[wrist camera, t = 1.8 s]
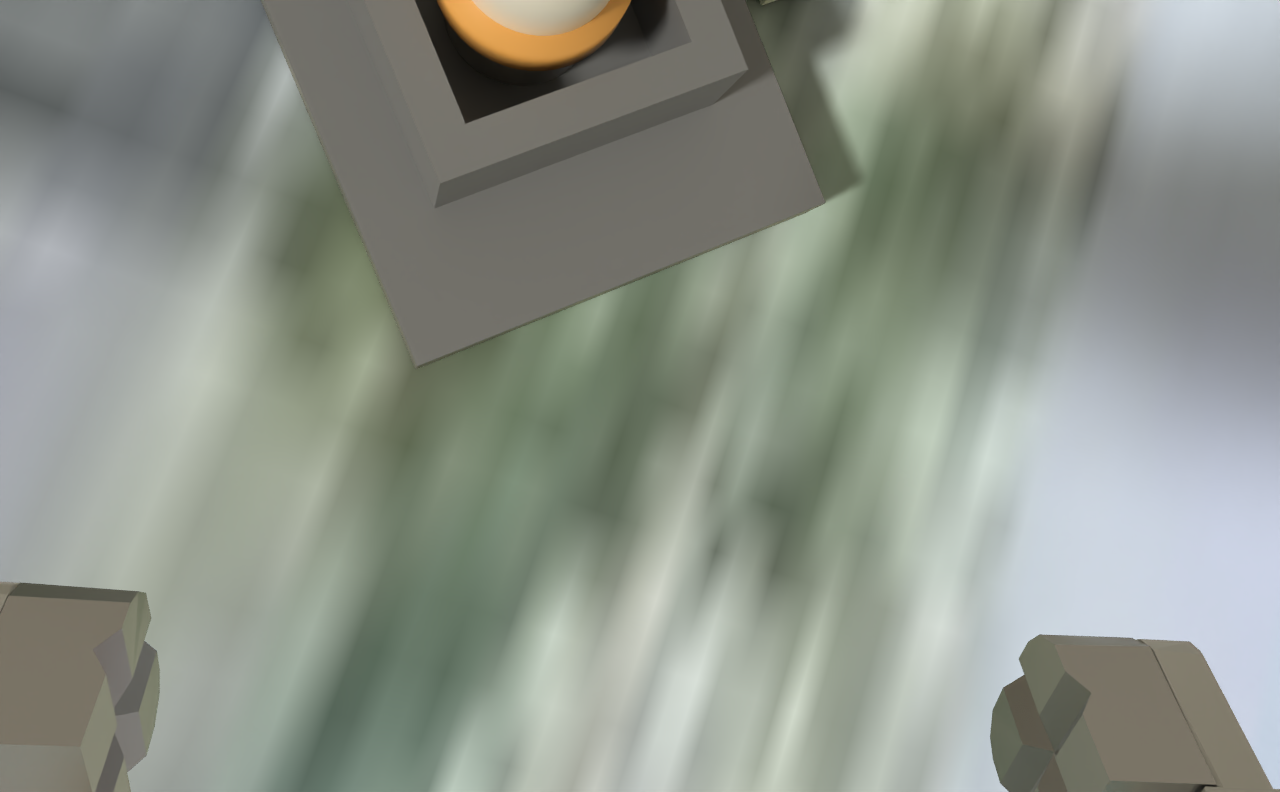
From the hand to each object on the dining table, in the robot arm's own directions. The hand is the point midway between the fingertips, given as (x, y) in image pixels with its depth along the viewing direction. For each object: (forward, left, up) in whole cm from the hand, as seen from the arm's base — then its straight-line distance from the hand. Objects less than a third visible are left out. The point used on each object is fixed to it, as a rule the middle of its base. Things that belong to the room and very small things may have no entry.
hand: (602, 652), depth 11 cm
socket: (-11, +6, -19) cm, 23 cm away
